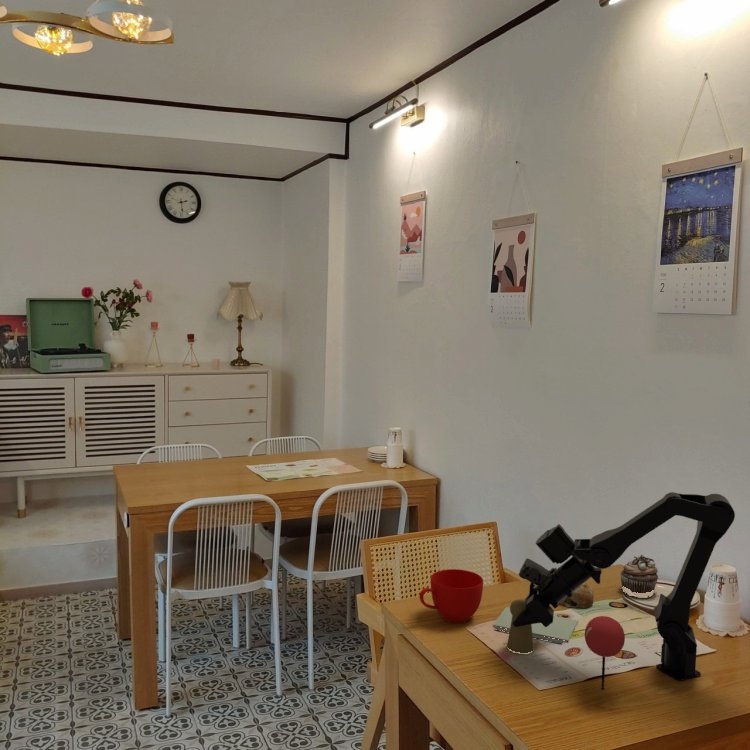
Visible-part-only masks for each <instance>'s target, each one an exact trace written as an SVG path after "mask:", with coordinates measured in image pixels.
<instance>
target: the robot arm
mask: <svg viewBox="0 0 750 750" xmlns="http://www.w3.org/2000/svg"><path fill="white" fill-rule="evenodd" d="M675 516H677V517H678V516H680V517H684V518H688V519H691V520H693V521H697V523H696V532H695V535H694V537H693V540H692V542H691V545H690V547H689V549H688V552H687V555H686V557H685V559H684V562H683V563H682V567H681V569H680V571H679V573H678V575H677V579H676V582H675V584H674V586H673V589H672V590H671V592H670V593H668V595H664V594H663V593H659V594H660V595H659V598H658V602H657V604H656V606H655V607H654V608H653V612H654V618H655V622H656V627H657V628H656V629H657V632H658V633H659V635H660V637H661V638H663V639H662V644H661V651H660V653H661V654H660V663H658V664H656V665H655V666H656V668H657V669H659V670H660V671H661V672H663V673H665V674H667V675H668V676H670V677H671V678H672V679H675V680H676V681H683V680H688V679H691V678H695V677H699V676H701V675H702V674H701V673H702V672H701V671H699V670H697V669H696V668H697V652H698V651H697V648H698V644H697V640H696V636H695V632H694V629H693V627H692V625H690V624H689V623H690V613H691V608H692V607H691V606H692V602H693V599H694V596H695V594H696V592H697V589H698V587H699V585H700V582H701V580H702V578H703V576H704V572H705V571H706V568H707V565H708V563H709V561H710V559H711V556H712V553H713V551H714V550H715V547H716V545H717V543H718V542H719V541H720V540H721V539H722V538H723V537H724V536H725V534H727V532H728V530H729V529H730V527H731V526H732V524H733V523H734V521H735V519H736V518H735V517H736V513H735V510H734V508H733V506H732V505H731V503H730V501H729V500H728V499H727V497H726V496H724V495H722V494H719V493H710V494H708V495H702V494H695V493H694V494H693V493H691V494H690V493H689V494H688V493H678V492H674V491H672V492H668V493H666V494H665V495H664V496H662V498H661V499H659V500H658V501H656V502H654V503H653V504H652V505H650V506H649V507H647V508H645V509H644V510H642V511H641V512H640V513H638V514H637V515H635V516H633V517H632V518H631V519H629V520H628V521H626V522H624V523H623V524H622V525H620V526H618V527H616V528H612V529H608V530H605V531H603V532H601V533H598V534H596V535H594V536H592V537H591V538H575V539H574V540H573V538H572V537H571V536H570V535H569V534H568V533H567V532H566V530H565V529H564V527H563V526H562V525H561V524H559V523H558V524H557V525H556V526H554V527H552V528H550V529H547V530H546V531H545V532H544V533H542V534H541V535H540V536H539V537H538V538H537V540H536V541H535V545H536V546H537V547H538V548H539V549H540V550H541V552H543V554H544V555H545V556H546V557H547V558H548V560H550V561H551V563H553V564H556V565H558V564H559V565H560V564H561V565H560V566H559V567H557V568H556V567H552V568H550V569H549V570H548V569H547V568H545V567H544V566H542V565H541V564H539V563H538V562H537V561H536V562H535V561H534V560H532V559H530V558H525V560H524V562H523V564H522V565H521V568H520V569H519V572H518V577H520V578H521V579H523V580H526V581H527V582H529V583H530V584H529V593H528V595H526V597H525V599H524V600H526V608H525V609H524V610H523V611H522V612H521V613H520V614H519V615H518V617H517V618H516V619H515V620H514V621H513V623H512V624H513V625H514V626H515V627H519V626H524V625H529V624H536V623H542V624H543V626H544V627H547V626H549V625H550V624H551V623H553V618H554V616H555V610H554V609H556V608H558V607H559V604H560V603H559V602H560V601H561V600H563V599H564V598H565V597H567V596H568V597H571V596H572V595H573V591H574V590H575V589H577V588H578V587H579V586H581V585H582V584H583V583H584V582H586V583H587V581H588V580H589V579H591V578H592V580H593V581H594V582H595V583H596V584H598V585H600V584H601V575H602V574H603V573H602V572H603V571H602V570H605V569H607V568H610V567H612V565H613V564H614V563H616V561H618V560H619V559H620V558H621V557H622V555H623V554H624V553H625V552H626V551H627V550H628V549H629V547H631V546H632V545H633V544H634V543H636V542H637V541H639V540H640V539H643V537H645V536H646V535H648V534H650V533H651V532H652V531H654V530H655V529H657V528H658V527H660V526H662V525H663V524H665V523H666V522H667V521H669V520H671V519H672V518H674V517H675ZM550 605H551V606H552V607H551V606H550Z"/></svg>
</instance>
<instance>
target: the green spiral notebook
mask: <svg viewBox="0 0 750 750" xmlns="http://www.w3.org/2000/svg"><path fill="white" fill-rule="evenodd" d="M511 620H512V614H511V612H510V606H506V607H505V608H504V609H503V611H502V612H501V614H499V616H498V617H497V618H496V620H495V621H494V623H492V627H493V626H497V627H502V628H507V629H510V626H511ZM577 623H578V624H579V620H576V619H572V618H568V617H567V618H566V617H561V616H557V615H556V616H555V615H554V618H553V623H551V624H550V625H549V626H547V627H544V626H543V624H542V623H536V624H531V625H532V634H534V635H539V636H545V637H550V638H555V639H559V640H565V641H569V642H570V640H571V638H570V637H572V636H573V634H574V632H575V630H576V628H577V626H578V624H577ZM576 625H577V626H576ZM575 627H576V628H575ZM574 629H575V630H574ZM573 631H574V632H573ZM572 633H573V634H572ZM571 635H572V636H571ZM569 639H570V640H569Z"/></svg>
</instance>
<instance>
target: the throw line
mask: <svg viewBox="0 0 750 750" xmlns="http://www.w3.org/2000/svg"><path fill="white" fill-rule="evenodd" d="M495 629H497V630H501V631H502V630H503V631H505V632H510V629H507V630H506V629H505V628H500V627H494V630H495ZM504 629H505V630H504ZM505 632H504V633H505ZM532 635H533V638H536V639H535V640H538V639H543V640H548V641H552V642H557V643H563V644H564V642H563V640H558V639H552V638H548V637H544V636H539V635H534V634H532ZM543 640H542V641H543ZM548 641H547V642H548ZM552 642H551V643H552ZM557 643H556V644H557Z"/></svg>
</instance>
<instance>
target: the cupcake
mask: <svg viewBox="0 0 750 750" xmlns="http://www.w3.org/2000/svg"><path fill="white" fill-rule="evenodd" d="M657 573H658V568H657V567H656V562H655V559H653V558H650V557H647V556H646V557H645V555H643V554H641V555H638V557H637V556H633V558H632V559H630V560H628V562H627V563H626V564H625V565H624V566H623V570H622V571H620V574H619V575H620V580H621V581H620V582H621V588H622V587H623V586H624V587H626V588H628V589H630V590H631V591H632V592H636V593H637V592H638V593H646V592H651V591H652V590H654V591H655V588H656V586H657V582H658V578H659V575H658V574H657Z"/></svg>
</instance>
